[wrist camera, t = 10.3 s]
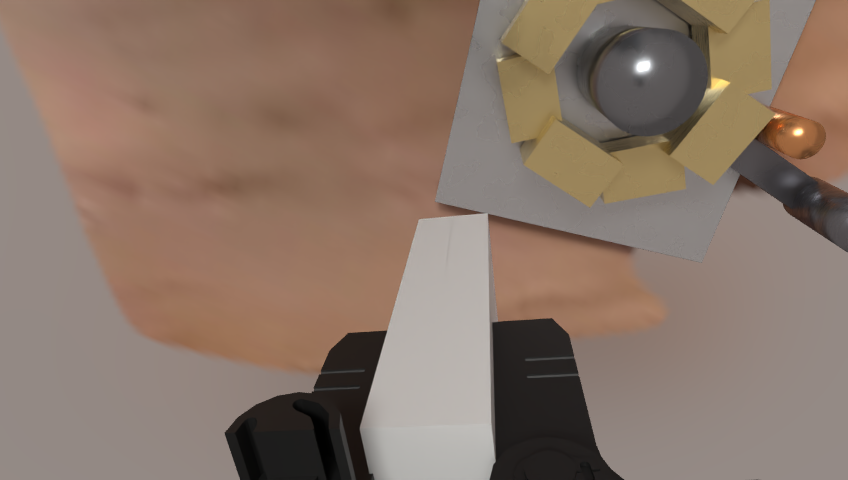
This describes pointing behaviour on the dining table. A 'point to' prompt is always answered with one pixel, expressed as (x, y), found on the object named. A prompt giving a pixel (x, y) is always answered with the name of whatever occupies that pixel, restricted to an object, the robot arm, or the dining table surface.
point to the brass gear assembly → (667, 153)
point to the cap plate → (610, 122)
